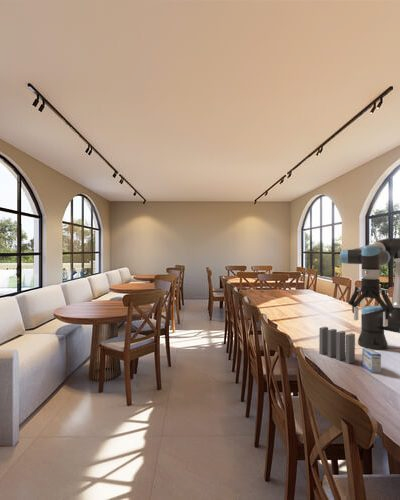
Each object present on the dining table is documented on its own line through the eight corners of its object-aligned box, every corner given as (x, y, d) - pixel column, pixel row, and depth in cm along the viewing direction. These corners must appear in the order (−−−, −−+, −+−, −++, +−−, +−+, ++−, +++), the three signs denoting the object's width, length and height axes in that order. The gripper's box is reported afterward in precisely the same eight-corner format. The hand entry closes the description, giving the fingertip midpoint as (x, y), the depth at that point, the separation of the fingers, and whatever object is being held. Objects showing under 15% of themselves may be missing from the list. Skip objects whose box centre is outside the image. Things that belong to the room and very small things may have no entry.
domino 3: (342, 357, 157) (342, 330, 157) (345, 358, 155) (345, 331, 155) (336, 359, 154) (336, 332, 154) (339, 360, 153) (339, 333, 153)
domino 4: (351, 360, 153) (351, 333, 152) (354, 361, 151) (355, 334, 151) (345, 362, 150) (345, 334, 150) (348, 363, 148) (349, 335, 148)
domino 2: (333, 354, 161) (333, 328, 161) (336, 355, 160) (336, 329, 159) (327, 356, 158) (327, 330, 158) (330, 357, 157) (330, 330, 157)
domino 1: (325, 351, 165) (325, 326, 165) (328, 352, 164) (328, 327, 164) (319, 353, 163) (319, 327, 163) (322, 354, 161) (322, 328, 161)
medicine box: (361, 366, 146) (361, 348, 145) (370, 366, 146) (370, 348, 146) (371, 372, 138) (371, 354, 138) (381, 372, 138) (381, 354, 138)
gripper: (341, 276, 150) (340, 318, 151) (395, 281, 129) (394, 330, 130) (349, 275, 154) (349, 316, 155) (403, 280, 134) (403, 327, 134)
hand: (370, 323), depth 142 cm, fingers open, 13 cm apart
